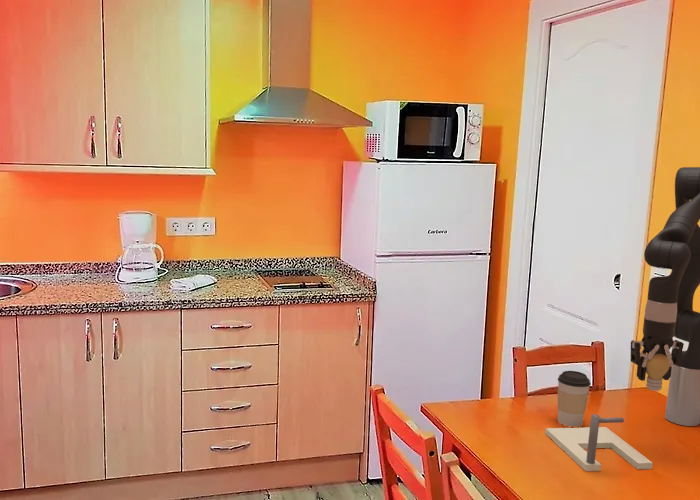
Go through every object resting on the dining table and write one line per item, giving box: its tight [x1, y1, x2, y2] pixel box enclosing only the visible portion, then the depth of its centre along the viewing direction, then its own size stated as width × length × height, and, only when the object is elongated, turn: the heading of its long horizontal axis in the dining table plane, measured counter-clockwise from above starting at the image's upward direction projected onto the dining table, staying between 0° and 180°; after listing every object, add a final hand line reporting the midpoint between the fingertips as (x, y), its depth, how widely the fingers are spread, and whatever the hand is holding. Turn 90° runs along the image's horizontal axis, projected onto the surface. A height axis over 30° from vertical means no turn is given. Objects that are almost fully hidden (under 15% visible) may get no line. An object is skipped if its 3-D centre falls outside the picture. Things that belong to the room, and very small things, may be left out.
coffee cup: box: [557, 370, 592, 428], centre depth 195 cm, size 9×9×15 cm
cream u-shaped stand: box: [544, 413, 654, 472], centre depth 178 cm, size 18×22×14 cm
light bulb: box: [645, 353, 669, 392], centre depth 177 cm, size 6×6×10 cm
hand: (653, 379), depth 178 cm, fingers closed on light bulb, 6 cm apart
